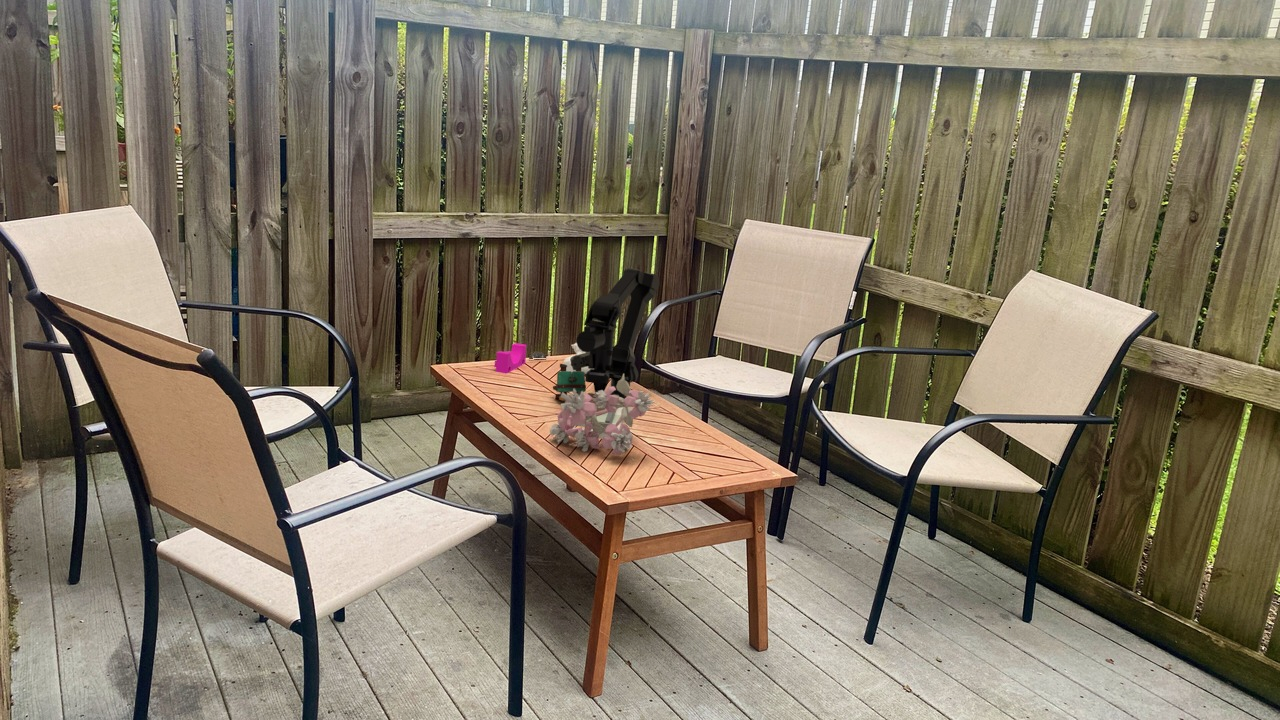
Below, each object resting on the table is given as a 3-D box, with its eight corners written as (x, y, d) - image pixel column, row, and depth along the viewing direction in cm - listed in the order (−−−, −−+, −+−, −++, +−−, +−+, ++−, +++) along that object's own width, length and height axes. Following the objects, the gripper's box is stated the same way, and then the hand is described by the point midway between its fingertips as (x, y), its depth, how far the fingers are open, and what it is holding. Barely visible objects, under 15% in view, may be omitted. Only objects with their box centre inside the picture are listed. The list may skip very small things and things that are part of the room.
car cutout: (531, 368, 316) (532, 354, 315) (523, 362, 321) (524, 349, 320) (573, 365, 323) (574, 352, 322) (564, 360, 329) (565, 347, 328)
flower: (671, 455, 248) (597, 491, 232) (613, 409, 260) (539, 440, 245) (685, 391, 237) (607, 424, 221) (624, 346, 249) (547, 375, 234)
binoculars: (579, 366, 286) (588, 362, 276) (579, 402, 285) (589, 400, 275) (549, 366, 283) (557, 362, 274) (549, 402, 282) (558, 400, 273)
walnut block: (587, 406, 270) (588, 392, 269) (605, 408, 270) (606, 394, 269) (584, 411, 265) (585, 397, 264) (603, 413, 265) (604, 399, 264)
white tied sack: (567, 380, 303) (569, 344, 301) (559, 373, 310) (561, 339, 307) (602, 378, 308) (605, 344, 305) (594, 372, 315) (596, 338, 312)
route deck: (569, 407, 275) (570, 390, 274) (625, 412, 275) (627, 395, 273) (555, 434, 251) (556, 415, 250) (617, 440, 250) (618, 422, 249)
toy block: (507, 364, 316) (508, 341, 314) (525, 367, 315) (526, 344, 313) (488, 374, 302) (489, 351, 300) (506, 377, 301) (508, 354, 299)
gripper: (578, 335, 280) (574, 388, 284) (568, 350, 262) (564, 405, 266) (616, 339, 279) (612, 392, 283) (609, 354, 261) (605, 410, 265)
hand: (598, 399), depth 274 cm, fingers closed
